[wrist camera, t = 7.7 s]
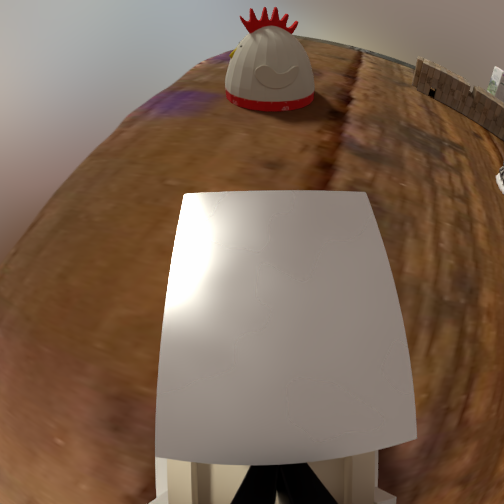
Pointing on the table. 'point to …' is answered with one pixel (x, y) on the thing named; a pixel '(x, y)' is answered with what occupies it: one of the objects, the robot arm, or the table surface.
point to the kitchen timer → (269, 67)
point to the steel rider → (281, 332)
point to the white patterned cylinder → (501, 179)
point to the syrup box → (497, 84)
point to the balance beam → (231, 476)
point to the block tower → (460, 95)
